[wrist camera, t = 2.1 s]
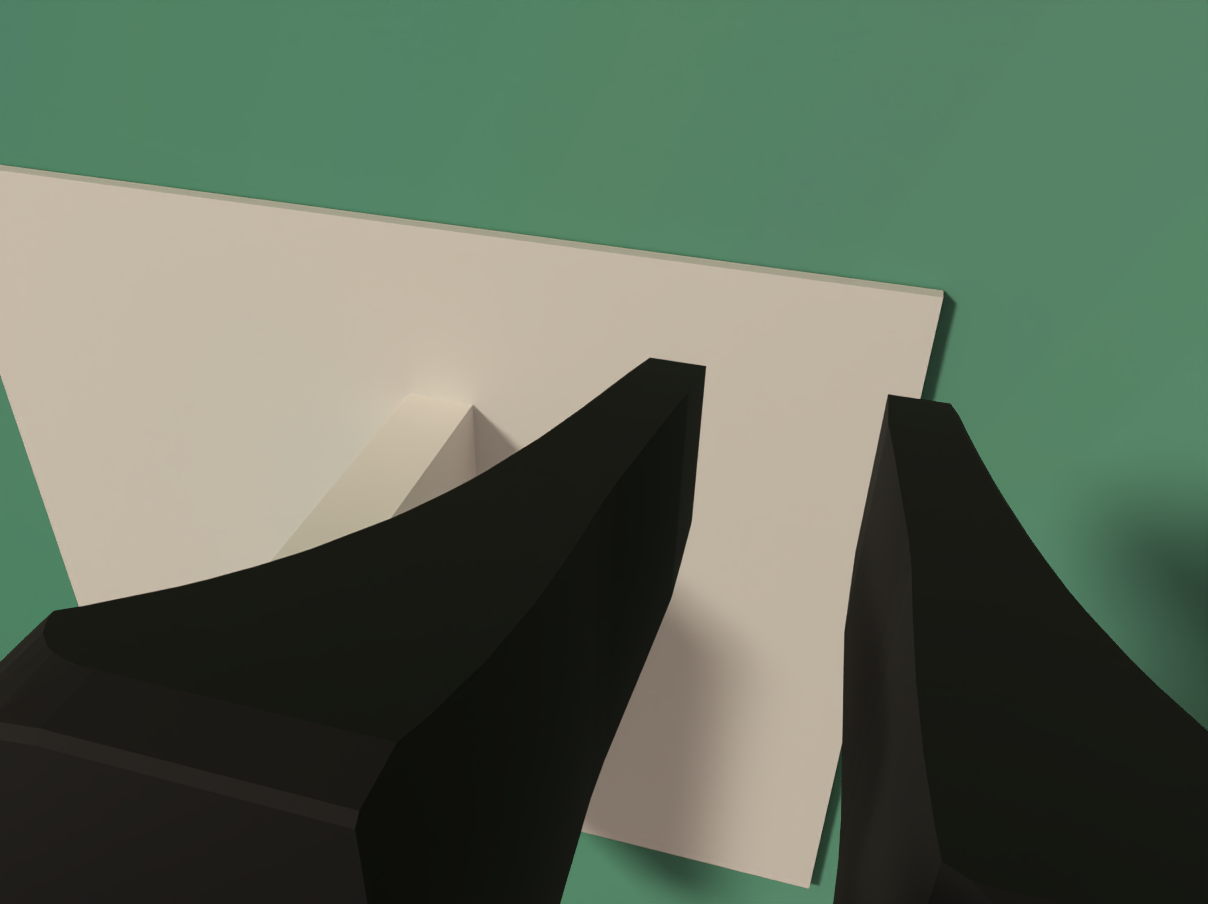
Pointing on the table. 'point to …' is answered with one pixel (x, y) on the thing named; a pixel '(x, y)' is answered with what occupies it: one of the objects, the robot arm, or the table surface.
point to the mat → (501, 428)
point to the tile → (395, 471)
